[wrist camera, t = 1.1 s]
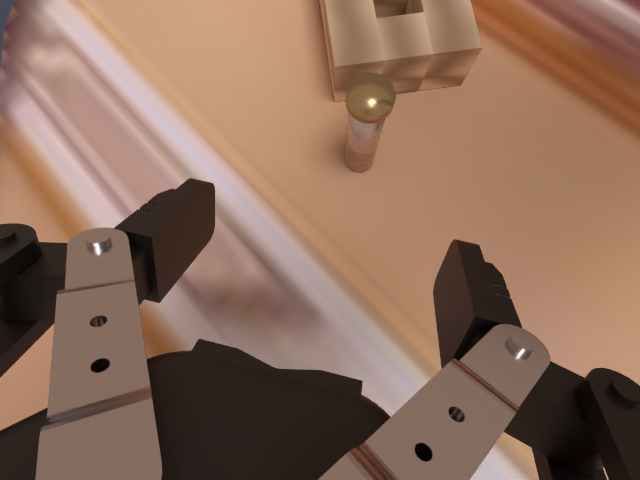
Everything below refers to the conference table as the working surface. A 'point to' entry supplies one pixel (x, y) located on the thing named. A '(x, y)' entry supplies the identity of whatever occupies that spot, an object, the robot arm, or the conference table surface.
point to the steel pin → (366, 117)
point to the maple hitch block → (400, 42)
